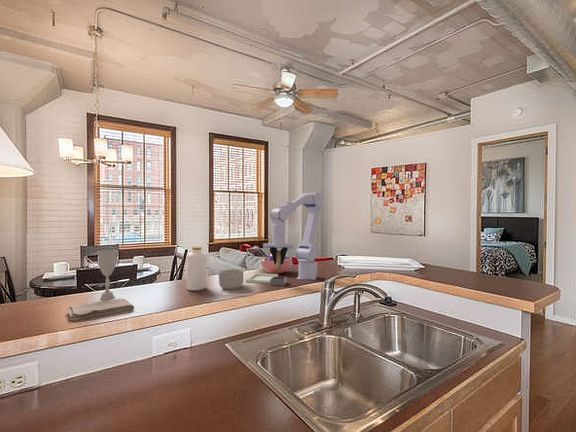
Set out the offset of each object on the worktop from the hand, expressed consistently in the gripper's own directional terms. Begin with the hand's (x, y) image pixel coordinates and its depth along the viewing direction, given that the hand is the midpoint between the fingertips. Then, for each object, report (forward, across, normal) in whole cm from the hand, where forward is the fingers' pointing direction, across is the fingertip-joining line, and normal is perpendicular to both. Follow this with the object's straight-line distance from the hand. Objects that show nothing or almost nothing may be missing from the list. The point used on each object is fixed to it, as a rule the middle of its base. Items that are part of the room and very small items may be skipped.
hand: (278, 264), depth 142 cm
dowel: (+3, 0, 0) cm, 3 cm away
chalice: (+10, -59, -36) cm, 70 cm away
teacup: (+10, -18, -10) cm, 23 cm away
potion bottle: (+10, -33, -15) cm, 38 cm away
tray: (+10, -10, +8) cm, 16 cm away
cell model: (+10, -8, +27) cm, 30 cm away
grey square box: (+10, 0, 0) cm, 10 cm away
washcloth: (+10, -49, -50) cm, 71 cm away
